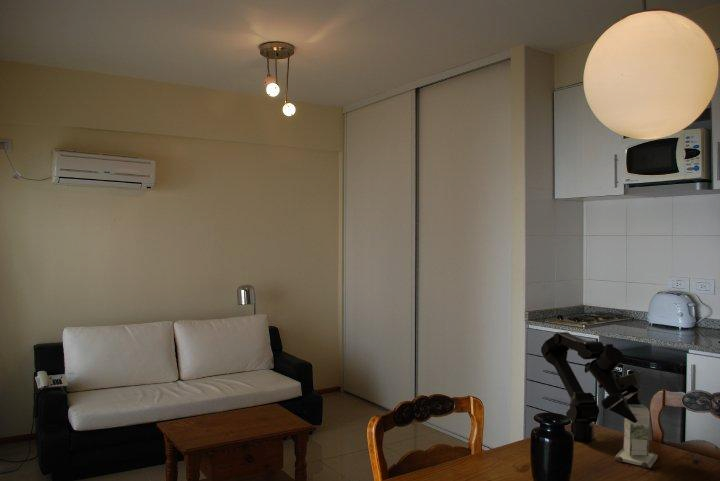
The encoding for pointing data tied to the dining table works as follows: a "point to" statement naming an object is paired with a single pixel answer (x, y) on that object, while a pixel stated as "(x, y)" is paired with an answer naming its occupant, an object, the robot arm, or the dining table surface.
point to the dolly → (636, 459)
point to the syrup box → (637, 432)
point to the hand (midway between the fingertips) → (641, 419)
